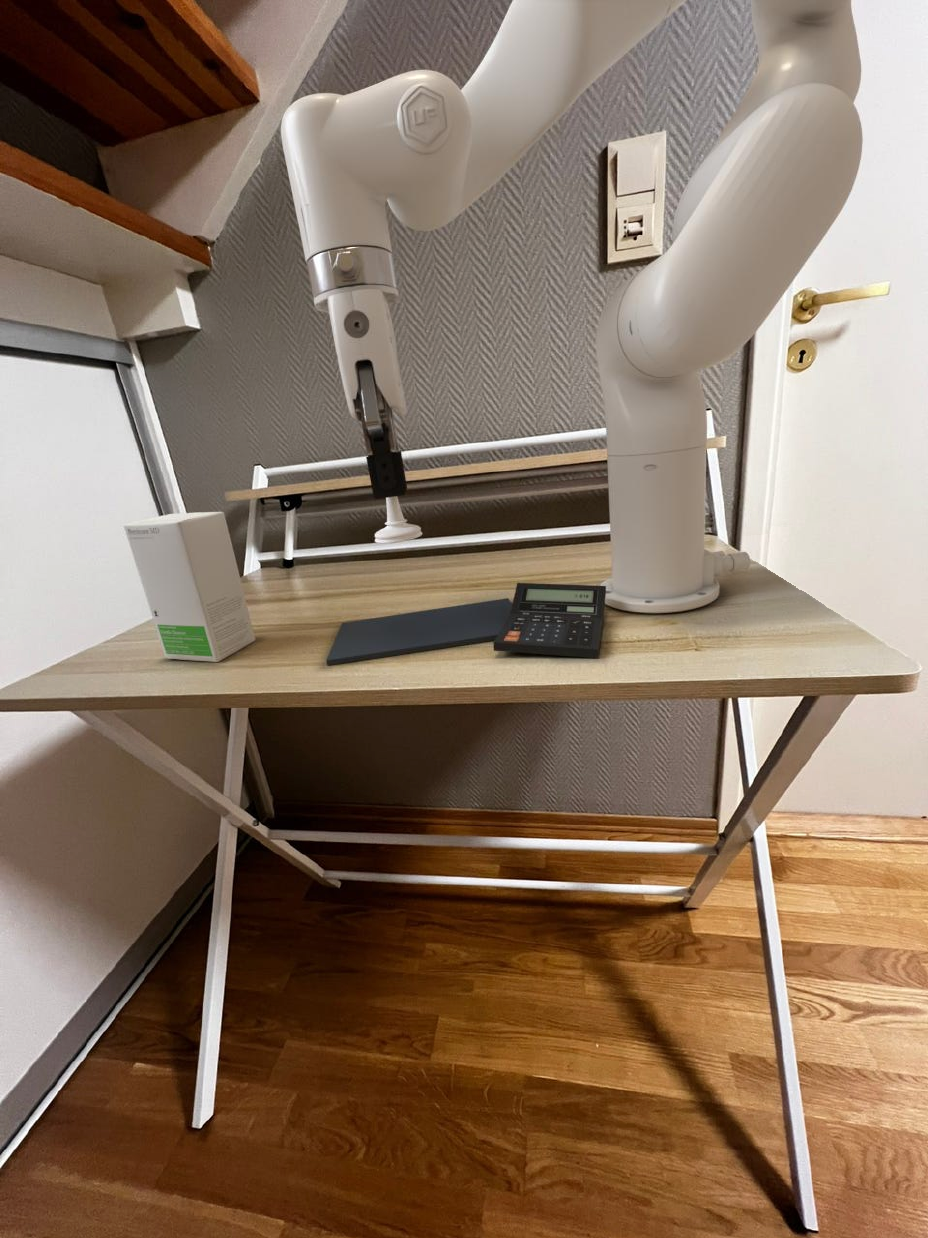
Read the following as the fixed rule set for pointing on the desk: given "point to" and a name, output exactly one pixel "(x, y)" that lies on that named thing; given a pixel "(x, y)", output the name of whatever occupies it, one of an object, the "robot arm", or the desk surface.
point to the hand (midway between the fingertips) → (391, 493)
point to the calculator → (554, 620)
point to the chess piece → (396, 525)
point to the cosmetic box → (192, 584)
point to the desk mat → (419, 631)
